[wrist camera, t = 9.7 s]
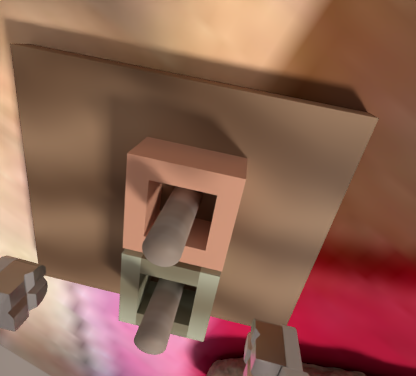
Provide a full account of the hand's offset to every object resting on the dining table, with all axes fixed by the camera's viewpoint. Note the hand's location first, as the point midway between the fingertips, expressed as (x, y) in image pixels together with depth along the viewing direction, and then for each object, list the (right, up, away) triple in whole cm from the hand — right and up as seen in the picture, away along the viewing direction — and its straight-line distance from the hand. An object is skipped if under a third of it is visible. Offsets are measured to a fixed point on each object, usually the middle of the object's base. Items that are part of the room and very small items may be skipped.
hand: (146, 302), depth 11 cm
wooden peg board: (0, +3, +9) cm, 10 cm away
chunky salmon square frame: (+1, +4, +7) cm, 8 cm away
